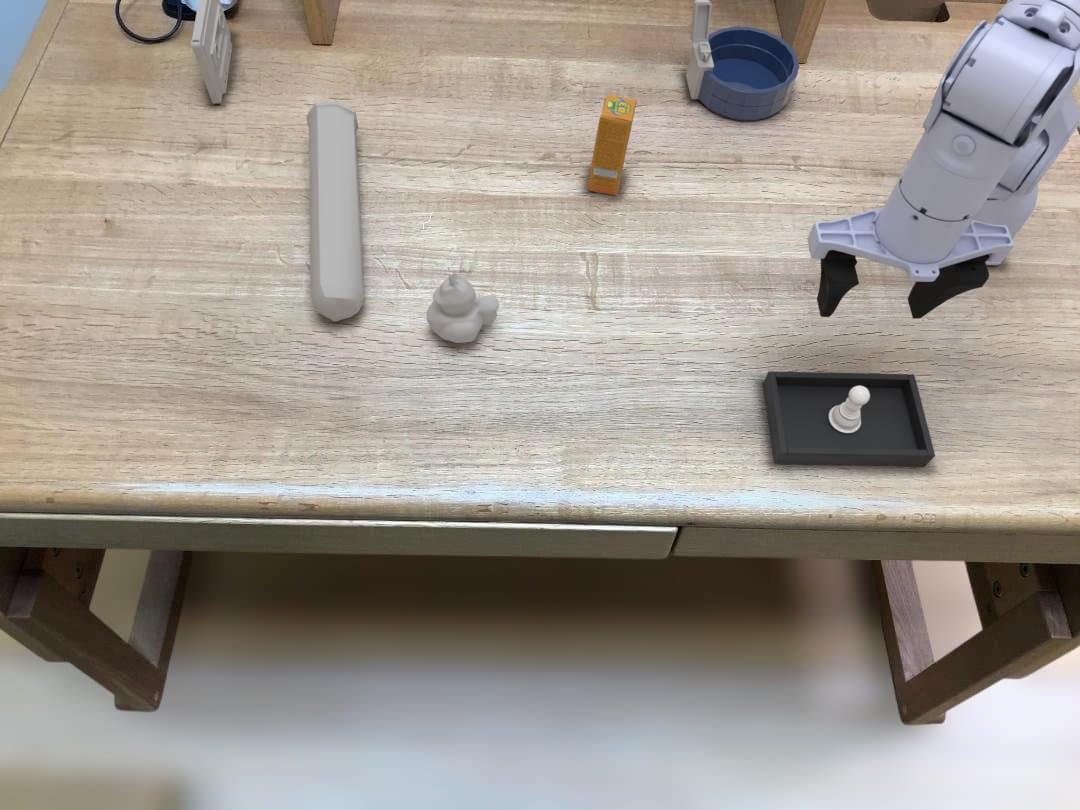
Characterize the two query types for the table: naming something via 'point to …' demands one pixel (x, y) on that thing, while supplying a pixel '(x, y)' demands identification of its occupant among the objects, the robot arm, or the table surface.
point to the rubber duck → (460, 310)
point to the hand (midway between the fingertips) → (868, 308)
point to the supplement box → (611, 144)
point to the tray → (809, 437)
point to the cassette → (212, 47)
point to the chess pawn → (849, 410)
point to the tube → (334, 211)
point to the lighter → (699, 47)
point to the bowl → (748, 73)
